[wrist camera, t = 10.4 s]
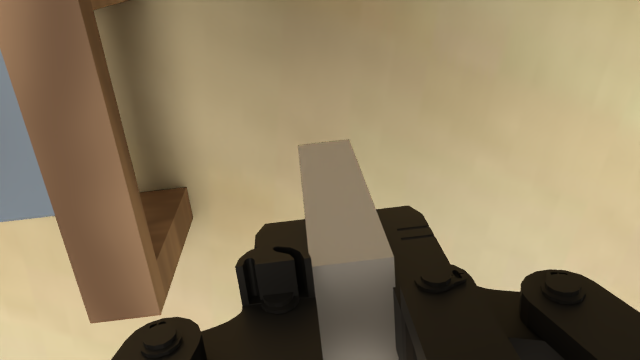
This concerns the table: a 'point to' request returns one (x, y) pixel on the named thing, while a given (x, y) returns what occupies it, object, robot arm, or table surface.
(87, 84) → the brown bridge block
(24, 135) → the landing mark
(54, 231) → the table surface
